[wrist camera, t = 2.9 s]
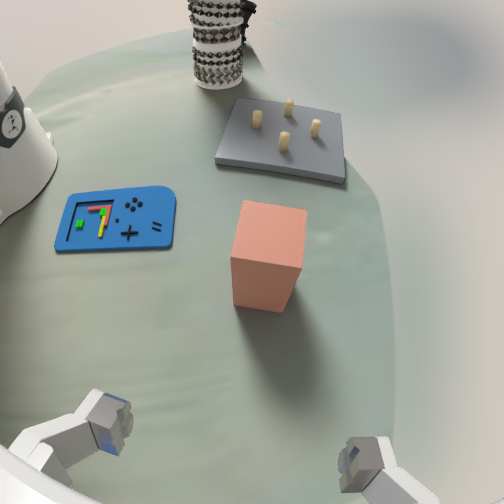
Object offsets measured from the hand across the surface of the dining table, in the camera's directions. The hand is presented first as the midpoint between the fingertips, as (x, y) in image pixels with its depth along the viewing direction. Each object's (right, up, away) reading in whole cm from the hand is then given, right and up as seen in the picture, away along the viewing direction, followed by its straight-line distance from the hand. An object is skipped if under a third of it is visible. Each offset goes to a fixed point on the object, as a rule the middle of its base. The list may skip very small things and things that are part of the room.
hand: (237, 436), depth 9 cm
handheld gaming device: (-15, +10, +23) cm, 30 cm away
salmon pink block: (+1, +3, +20) cm, 20 cm away
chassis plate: (+5, +22, +30) cm, 38 cm away
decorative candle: (-5, +37, +38) cm, 53 cm away
